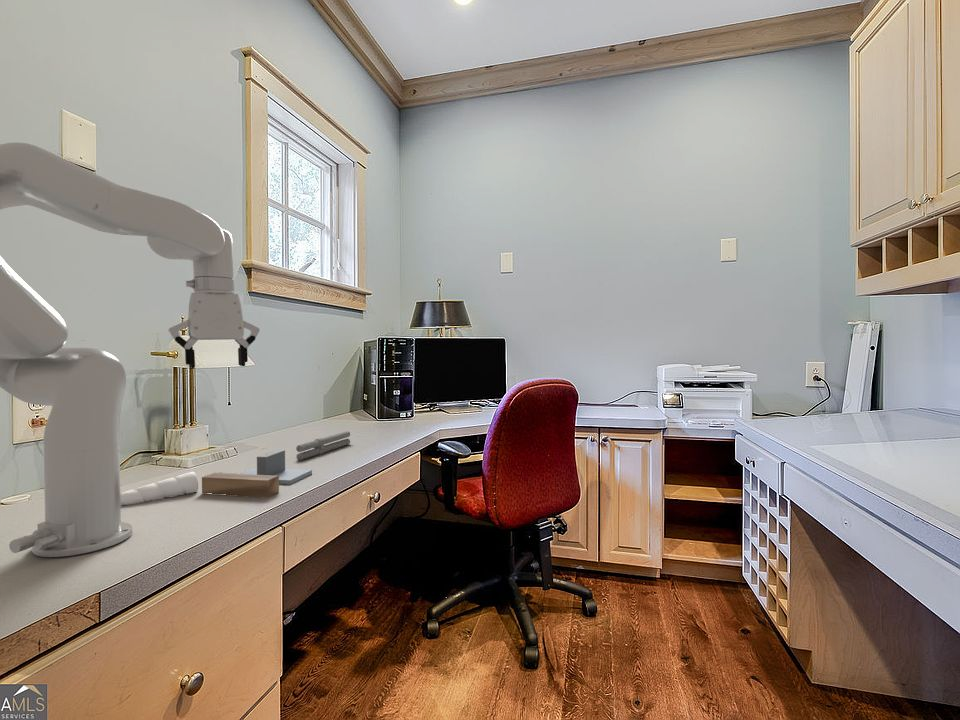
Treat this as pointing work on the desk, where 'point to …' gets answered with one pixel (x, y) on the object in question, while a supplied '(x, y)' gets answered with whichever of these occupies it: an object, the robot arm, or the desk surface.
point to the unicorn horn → (161, 489)
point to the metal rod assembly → (322, 445)
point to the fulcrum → (277, 468)
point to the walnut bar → (241, 484)
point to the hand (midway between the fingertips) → (217, 366)
